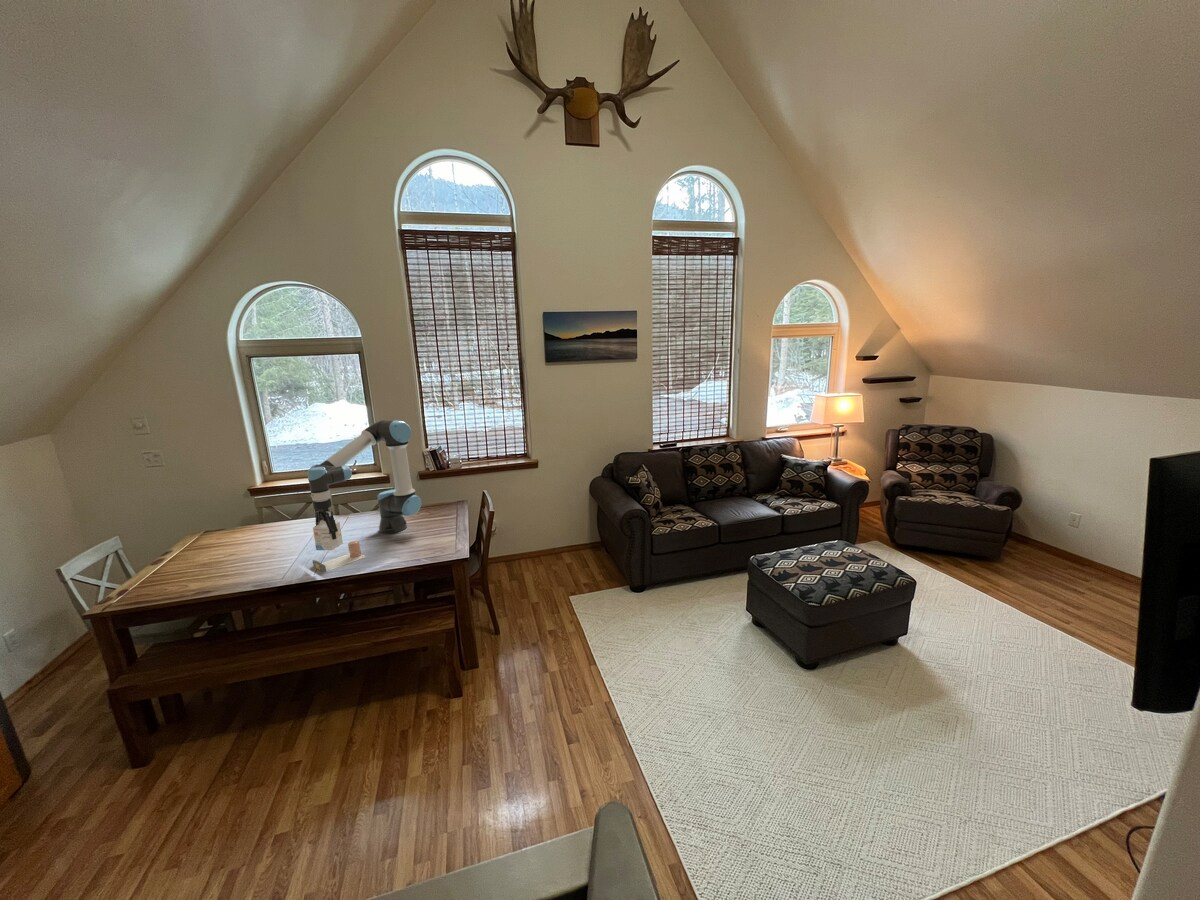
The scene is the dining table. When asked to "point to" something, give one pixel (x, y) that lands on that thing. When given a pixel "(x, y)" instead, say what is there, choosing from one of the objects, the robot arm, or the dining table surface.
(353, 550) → the tan glossy oval piece
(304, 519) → the dining table surface
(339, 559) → the shelf board
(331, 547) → the ink box
